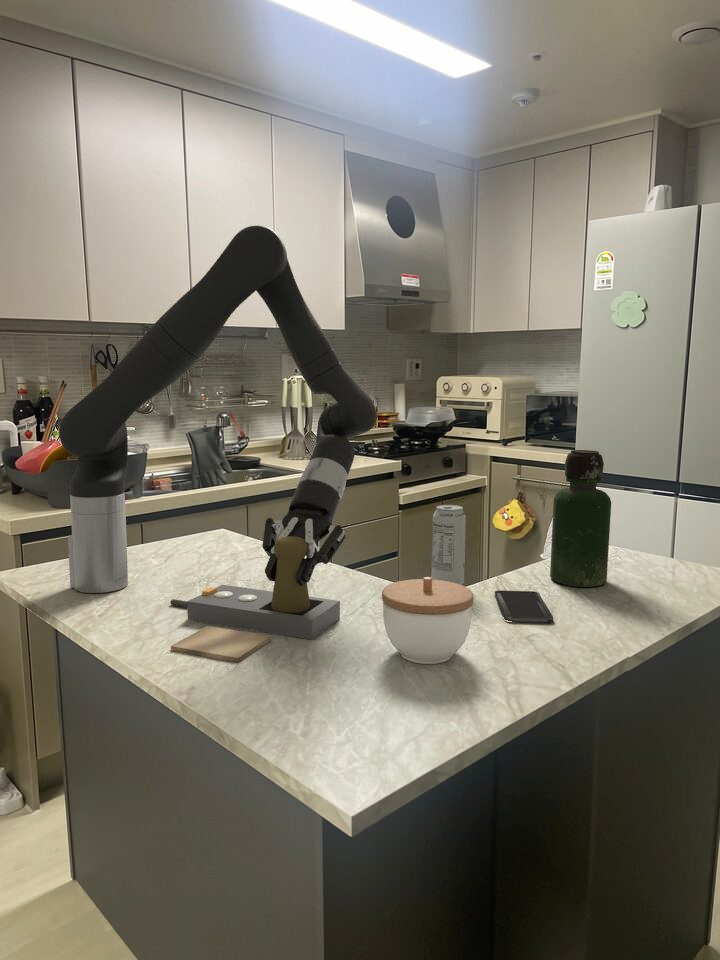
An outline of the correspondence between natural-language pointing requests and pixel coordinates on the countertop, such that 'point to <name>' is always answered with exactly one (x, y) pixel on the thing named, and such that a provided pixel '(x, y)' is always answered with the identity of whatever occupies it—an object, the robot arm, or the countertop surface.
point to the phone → (523, 607)
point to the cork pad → (221, 643)
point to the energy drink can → (448, 544)
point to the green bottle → (581, 524)
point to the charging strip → (259, 612)
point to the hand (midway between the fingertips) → (285, 580)
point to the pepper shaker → (289, 575)
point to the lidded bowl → (427, 618)
